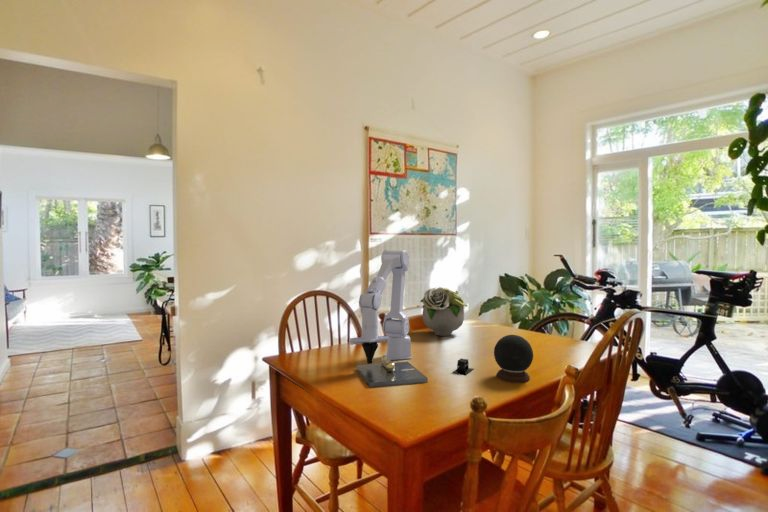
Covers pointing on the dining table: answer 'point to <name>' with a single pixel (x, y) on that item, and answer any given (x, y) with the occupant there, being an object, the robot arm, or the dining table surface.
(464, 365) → the black block on base
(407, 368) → the lock plate
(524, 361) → the spherical smart speaker
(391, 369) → the lever
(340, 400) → the dining table surface
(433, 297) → the flower arrangement
